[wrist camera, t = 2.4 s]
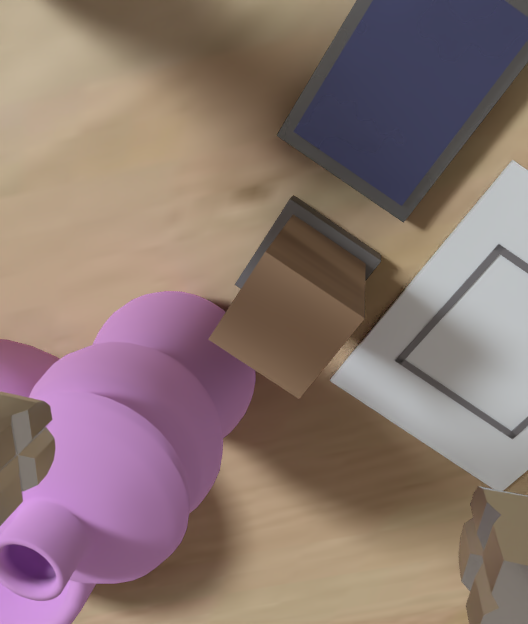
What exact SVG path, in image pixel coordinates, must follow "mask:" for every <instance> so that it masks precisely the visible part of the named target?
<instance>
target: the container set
mask: <svg viewBox="0 0 528 624" xmlns="http://www.w3.org/2000/svg"><path fill="white" fill-rule="evenodd" d="M225 313H226V312H225V311H224V310H223V309H221V308H220V307H218V306H217V305H215V304H214V303H212V302H211V301H209V300H206V299H204V298H202V297H199V296H197V295H193V294H189V293H185V292H176V291H164V292H157V293H151V294H145V295H143V296H141V297H138V298H136V299H133V300H131V301H130V302H128V303H127V304H126V305H124V306H123V307H121V308H120V309H118V310H117V311H116V312H114V313H113V314H112V315H111V316H110V318H109V319H108V320H107V321H106V322H105V323H104V325H103V326H102V328H101V329H100V331H99V333H98V335H97V337H96V339H95V340H94V342H93V345H91V346H88V347H86V348H83V349H80V350H78V351H75V352H72V353H70V354H67V355H65V356H64V357H63V358H61V359H59V358H57V357H56V356H53V355H51V354H49V353H46V352H44V351H42V350H40V349H37V348H35V347H33V346H30V345H26V344H22V343H18V342H14V341H10V340H5V339H0V392H6V393H10V394H15V395H19V396H24V397H28V398H33V399H37V400H42V401H45V402H46V403H47V404H49V405H50V408H51V414H52V421H51V422H50V423H49V425H48V426H47V429H48V430H49V431H50V433H51V434H52V435H53V437H54V438H55V448H56V449H55V456H54V461H53V463H52V465H51V467H50V470H49V472H48V474H47V475H46V476H45V478H44V479H43V480H42V481H41V482H40V483H39V484H38V485H37V486H35V487H32V488H30V489H28V490H26V491H23V502H22V503H21V504H20V505H19V506H18V507H17V509H16V510H15V511H14V512H13V513H12V514H11V515H10V516H9V517H8V518H7V519H6V521H5V522H4V523H3V524H2V525H1V526H0V624H71V623H72V622H73V621H74V619H75V618H76V616H77V615H78V614H79V612H80V611H81V609H82V608H83V606H84V604H85V602H86V601H87V599H88V597H89V595H90V594H91V592H92V590H93V589H94V587H95V585H96V584H116V583H122V582H128V581H132V580H135V579H137V578H140V577H142V576H145V575H146V574H148V573H149V572H151V571H152V570H153V569H155V568H156V567H157V566H159V565H160V564H161V563H162V562H163V561H164V560H166V559H167V558H168V557H169V556H170V555H171V554H172V553H173V552H174V551H175V549H176V548H177V547H178V546H179V544H180V543H181V542H182V539H183V537H184V534H185V532H186V530H187V525H188V518H189V513H190V512H192V511H193V510H194V509H196V508H197V507H198V506H199V504H200V503H201V502H202V501H203V499H204V498H205V497H206V495H207V494H208V492H209V491H210V489H211V488H212V486H213V484H214V482H215V480H216V478H217V475H218V473H219V471H220V465H221V459H222V451H223V438H224V437H226V436H227V435H228V434H229V433H230V432H231V431H232V430H233V429H234V428H235V427H236V425H237V424H238V423H239V422H240V420H241V419H242V418H243V416H244V415H245V413H246V411H247V408H248V406H249V404H250V402H251V399H252V396H253V392H254V387H255V381H256V378H255V370H254V369H252V368H251V367H249V366H248V365H246V364H245V363H243V362H242V361H240V360H238V359H237V358H235V357H234V356H232V355H231V354H229V353H228V352H226V351H225V350H223V349H222V348H220V347H219V346H217V345H216V344H214V343H213V342H211V341H210V340H208V339H209V337H210V336H211V334H212V333H213V331H214V330H215V328H216V326H217V325H218V323H219V322H220V320H221V319H222V317H223V316H224V314H225Z"/></svg>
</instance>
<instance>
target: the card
mask: <svg viewBox="0 0 528 624" xmlns="http://www.w3.org/2000/svg"><path fill="white" fill-rule="evenodd" d="M330 381H331V382H332V383H334V384H335V385H337V386H338V387H340V388H341V389H343V390H344V391H346V392H347V393H349V394H350V395H352V396H353V397H355V398H356V399H358V400H359V401H361V402H362V403H364V404H365V405H367V406H368V407H370V408H372V409H373V410H375V411H376V412H378V413H379V414H381V415H382V416H384V417H385V418H387V419H388V420H390V421H391V422H393V423H394V424H396V425H397V426H399V427H400V428H402V429H403V430H405V431H406V432H408V433H409V434H411V435H412V436H414V437H415V438H417V439H418V440H420V441H421V442H423V443H425V444H426V445H428V446H429V447H431V448H432V449H434V450H435V451H437V452H438V453H440V454H441V455H443V456H444V457H446V458H447V459H449V460H450V461H452V462H453V463H455V464H456V465H458V466H459V467H461V468H462V469H464V470H465V471H467V472H468V473H470V474H471V475H473V476H474V477H476V478H478V479H479V480H481V481H482V482H484V483H485V484H487V485H488V486H490V487H491V488H493V489H495V490H500V491H503V490H505V489H506V488H507V487H508V486H509V485H511V484H512V483H513V482H514V481H515V480H517V479H518V478H519V477H520V476H521V475H523V474H524V473H525V472H526V471H527V470H528V170H526V169H525V168H523V167H522V166H521V165H519V164H518V163H516V162H515V161H514V160H512V161H511V162H510V163H509V164H508V166H507V167H506V168H505V169H504V170H503V172H502V173H501V174H500V175H499V176H498V178H497V179H496V180H495V181H494V182H493V184H492V185H491V186H490V187H489V188H488V190H487V191H486V192H485V193H484V194H483V196H482V197H481V198H480V199H479V200H478V202H477V203H476V204H475V205H474V207H473V208H472V209H471V210H470V211H469V213H468V214H467V215H466V216H465V217H464V219H463V220H462V221H461V222H460V223H459V225H458V226H457V227H456V228H455V229H454V231H453V232H452V233H451V234H450V235H449V237H448V238H447V239H446V240H445V241H444V243H443V244H442V245H441V246H440V247H439V249H438V250H437V251H436V252H435V253H434V255H433V256H432V257H431V258H430V259H429V261H428V262H427V263H426V264H425V266H424V267H423V268H422V269H421V270H420V272H419V273H418V274H417V275H416V276H415V278H414V279H413V280H412V281H411V282H410V284H409V285H408V286H407V287H406V288H405V290H404V291H403V292H402V293H401V294H400V296H399V297H398V298H397V299H396V300H395V302H394V303H393V304H392V305H391V306H390V308H389V309H388V310H387V311H386V312H385V314H384V315H383V316H382V317H381V318H380V320H379V321H378V322H377V323H376V324H375V326H374V327H373V328H372V329H371V331H370V332H369V333H368V334H367V335H366V337H365V338H364V339H363V340H362V341H361V343H360V344H359V345H358V346H357V347H356V349H355V350H354V351H353V352H352V353H351V355H350V356H349V357H348V358H347V359H346V361H345V362H344V363H343V364H342V365H341V367H340V368H339V369H338V370H337V371H336V373H335V374H334V375H333V376H332V377H331V379H330Z"/></svg>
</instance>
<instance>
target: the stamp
mask: <svg viewBox="0 0 528 624" xmlns="http://www.w3.org/2000/svg"><path fill="white" fill-rule="evenodd" d="M380 262H381V255H380V254H379V253H377V252H376V251H375V250H373V249H372V248H370V247H369V246H367V245H366V244H364V243H363V242H361V241H360V240H358V239H357V238H355V237H354V236H352V235H351V234H350V233H348V232H347V231H345V230H344V229H342V228H341V227H339V226H338V225H336V224H335V223H333V222H332V221H330V220H329V219H327V218H326V217H325V216H323V215H322V214H320V213H319V212H317V211H316V210H314V209H313V208H311V207H310V206H308V205H307V204H305V203H304V202H302V201H301V200H300V199H298V198H297V197H295V196H294V195H293V196H292V197H291V198H290V200H289V201H288V203H287V204H286V206H285V207H284V209H283V210H282V212H281V214H280V215H279V217H278V218H277V220H276V221H275V223H274V224H273V226H272V228H271V229H270V231H269V232H268V234H267V235H266V237H265V238H264V240H263V242H262V243H261V245H260V246H259V248H258V249H257V251H256V252H255V254H254V256H253V257H252V259H251V260H250V262H249V263H248V265H247V266H246V268H245V270H244V271H243V273H242V274H241V276H240V277H239V279H238V280H237V282H236V284H235V285H236V286H237V287H239V288H240V289H241V290H240V291H239V293H238V294H237V296H236V297H235V299H234V300H233V302H232V304H231V305H230V307H229V308H228V310H227V311H226V313H225V314H224V316H223V317H222V319H221V320H220V322H219V323H218V325H217V326H216V328H215V330H214V331H213V333H212V334H211V336H210V337H209V339H208V340H210V341H211V342H213V343H214V344H216V345H217V346H219V347H220V348H222V349H223V350H225V351H226V352H228V353H229V354H231V355H232V356H234V357H235V358H237V359H238V360H240V361H242V362H243V363H245V364H246V365H248V366H249V367H251V368H252V369H254V370H255V371H257V372H258V373H260V374H261V375H263V376H264V377H266V378H267V379H269V380H270V381H272V382H273V383H275V384H277V385H278V386H280V387H281V388H283V389H284V390H286V391H287V392H289V393H290V394H292V395H293V396H295V397H296V398H298V399H300V398H301V396H302V395H303V394H304V393H305V391H306V390H307V389H308V388H309V386H310V385H311V384H312V383H313V382H314V380H315V379H316V378H317V377H318V375H319V374H320V373H321V372H322V370H323V369H324V368H325V367H326V366H327V364H328V363H329V362H330V361H331V359H332V358H333V357H334V356H335V354H336V353H337V352H338V351H339V350H340V348H341V347H342V346H343V345H344V343H345V342H346V341H347V340H348V339H349V337H350V336H351V335H352V334H353V332H354V331H355V330H356V329H357V327H358V326H359V325H360V324H361V323H362V321H363V320H364V319H365V281H366V280H367V279H368V277H369V276H370V275H371V273H372V272H373V271H374V270H375V268H376V267H377V266H378V264H379V263H380Z"/></svg>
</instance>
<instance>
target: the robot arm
mask: <svg viewBox="0 0 528 624" xmlns="http://www.w3.org/2000/svg"><path fill="white" fill-rule="evenodd" d="M51 421H52V414H51V408H50V405H49V404H47V403H46V402H45V401H42V400H37V399H33V398H28V397H24V396H19V395H15V394H10V393H6V392H0V526H1V525H2V524H3V523H4V522H5V521H6V519H7V518H8V517H9V516H10V515H11V514H12V513H13V512H14V511H15V510H16V509H17V507H18V506H19V505H20V504H21V503H22V502H23V491H26V490H28V489H30V488H32V487H35V486H37V485H38V484H39V483H40V482H41V481H42V480H43V479H44V478H45V476H46V475H47V474H48V472H49V470H50V467H51V465H52V463H53V461H54V456H55V449H56V448H55V438H54V437H53V435H52V434H51V433H50V431H49V430H48V429H47V426H48V425H49V423H50V422H51ZM470 506H471V510H472V514H473V518H472V519H471V520H469V521H468V522H466V523H464V526H463V530H462V533H461V537H460V545H459V569H460V576H461V581H462V583H463V584H464V585H465V586H466V587H467V588H468V590H469V591H470V594H469V597H468V600H467V603H466V609H467V615H468V620H469V624H528V496H527V495H521V494H516V493H511V492H506V491H500V490H495V489H490V488H485V487H479V486H478V487H477V489H476V490H475V492H474V494H473V497H472V500H471V503H470Z"/></svg>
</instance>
